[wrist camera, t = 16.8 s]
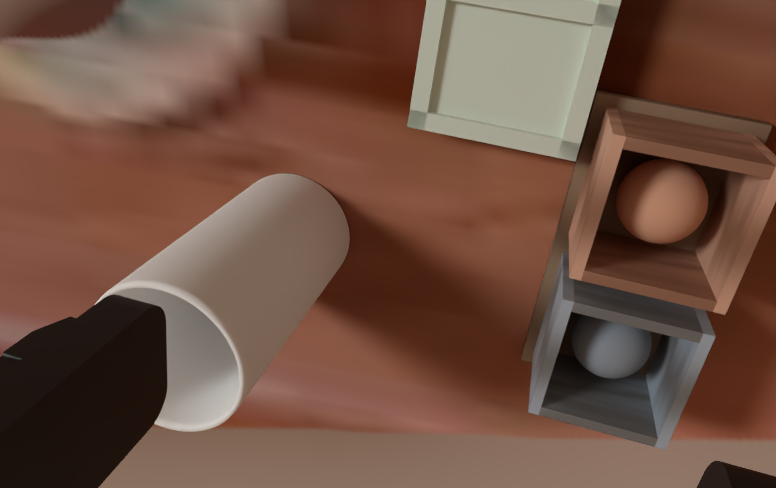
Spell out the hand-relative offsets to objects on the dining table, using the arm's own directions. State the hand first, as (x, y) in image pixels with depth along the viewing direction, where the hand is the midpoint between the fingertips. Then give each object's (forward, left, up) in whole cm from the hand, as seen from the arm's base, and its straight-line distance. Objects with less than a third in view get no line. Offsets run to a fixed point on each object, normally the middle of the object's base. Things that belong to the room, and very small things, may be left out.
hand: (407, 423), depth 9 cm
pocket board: (-4, -1, -30) cm, 30 cm away
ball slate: (+14, +8, -29) cm, 33 cm away
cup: (+13, -13, -30) cm, 35 cm away
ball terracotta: (+5, +8, -29) cm, 31 cm away
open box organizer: (+9, +8, -30) cm, 33 cm away
